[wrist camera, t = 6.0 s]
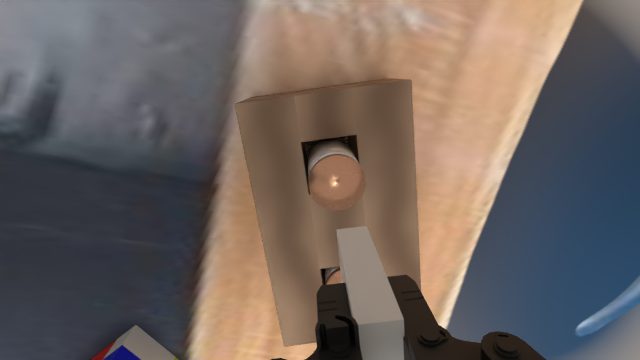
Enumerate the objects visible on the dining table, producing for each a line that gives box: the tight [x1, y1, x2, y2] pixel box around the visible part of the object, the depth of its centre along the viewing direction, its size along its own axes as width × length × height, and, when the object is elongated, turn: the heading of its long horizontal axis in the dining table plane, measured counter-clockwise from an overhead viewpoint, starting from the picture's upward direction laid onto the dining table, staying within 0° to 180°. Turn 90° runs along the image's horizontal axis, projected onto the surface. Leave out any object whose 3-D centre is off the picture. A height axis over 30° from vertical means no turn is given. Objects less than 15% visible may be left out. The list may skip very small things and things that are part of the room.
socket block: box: [235, 79, 421, 347], centre depth 34 cm, size 14×24×8 cm, turn 7°
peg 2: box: [324, 266, 342, 285], centre depth 35 cm, size 4×4×8 cm
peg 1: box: [308, 137, 366, 210], centre depth 27 cm, size 4×4×8 cm
